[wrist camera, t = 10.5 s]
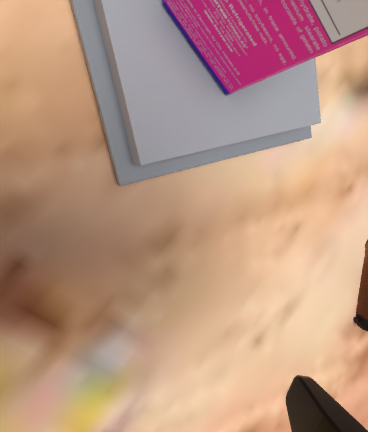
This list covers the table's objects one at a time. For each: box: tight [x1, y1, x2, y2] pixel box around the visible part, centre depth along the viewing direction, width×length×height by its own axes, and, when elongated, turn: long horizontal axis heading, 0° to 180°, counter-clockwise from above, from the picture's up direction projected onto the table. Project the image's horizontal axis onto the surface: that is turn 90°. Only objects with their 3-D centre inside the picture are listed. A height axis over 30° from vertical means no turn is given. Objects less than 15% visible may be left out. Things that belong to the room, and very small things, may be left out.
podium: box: [70, 0, 321, 186], centre depth 18 cm, size 14×14×3 cm
